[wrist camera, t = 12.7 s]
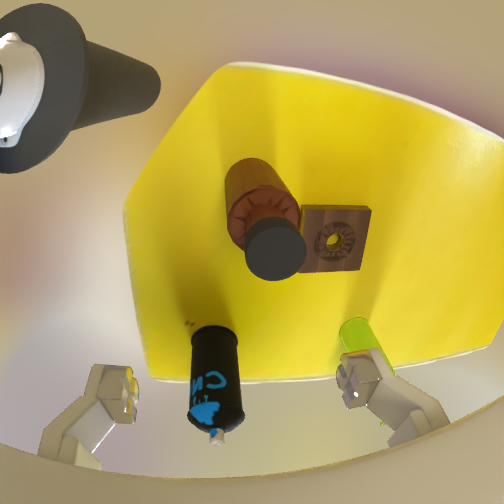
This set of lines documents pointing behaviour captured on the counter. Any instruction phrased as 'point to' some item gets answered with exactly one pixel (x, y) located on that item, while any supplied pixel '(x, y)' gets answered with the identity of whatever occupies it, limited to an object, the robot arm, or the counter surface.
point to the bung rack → (326, 224)
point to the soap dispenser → (360, 338)
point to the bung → (274, 249)
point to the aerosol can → (215, 383)
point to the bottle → (256, 198)
